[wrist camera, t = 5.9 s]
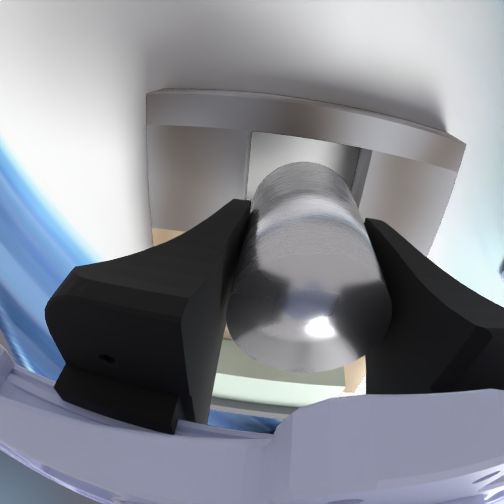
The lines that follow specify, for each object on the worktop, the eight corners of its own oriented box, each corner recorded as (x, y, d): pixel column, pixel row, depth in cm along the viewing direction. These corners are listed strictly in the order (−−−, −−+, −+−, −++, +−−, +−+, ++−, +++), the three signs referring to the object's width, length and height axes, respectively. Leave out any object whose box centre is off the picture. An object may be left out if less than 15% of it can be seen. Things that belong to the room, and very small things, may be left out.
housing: (447, 133, 13) (466, 144, 11) (351, 371, 24) (353, 392, 22) (163, 88, 13) (146, 93, 12) (178, 350, 24) (171, 370, 22)
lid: (342, 352, 19) (346, 395, 16) (326, 385, 21) (327, 423, 19) (201, 335, 19) (189, 376, 17) (203, 370, 22) (193, 407, 19)
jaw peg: (364, 172, 11) (418, 269, 6) (340, 259, 13) (359, 377, 8) (258, 154, 11) (231, 241, 6) (247, 245, 13) (222, 361, 9)
